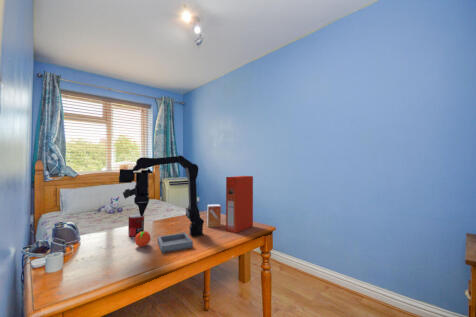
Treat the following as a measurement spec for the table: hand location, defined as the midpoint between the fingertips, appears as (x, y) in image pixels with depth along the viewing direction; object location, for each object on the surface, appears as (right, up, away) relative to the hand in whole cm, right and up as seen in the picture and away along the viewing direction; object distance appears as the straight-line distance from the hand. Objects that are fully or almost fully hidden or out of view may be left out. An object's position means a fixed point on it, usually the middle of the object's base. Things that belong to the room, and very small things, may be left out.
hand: (141, 213), depth 106 cm
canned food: (-8, -15, +12) cm, 21 cm away
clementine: (+2, -15, -4) cm, 16 cm away
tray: (+17, -15, -2) cm, 23 cm away
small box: (+32, -16, +31) cm, 47 cm away
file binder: (+49, -16, +25) cm, 57 cm away
